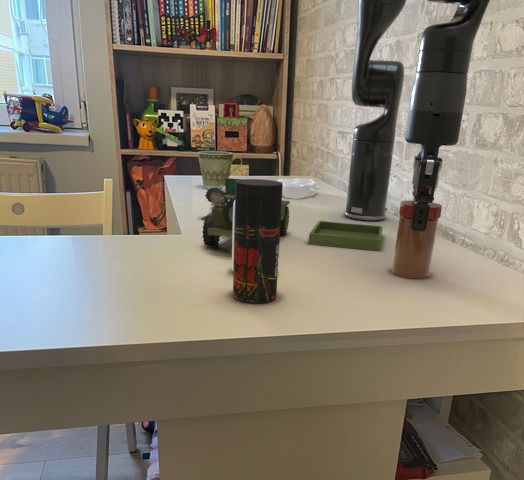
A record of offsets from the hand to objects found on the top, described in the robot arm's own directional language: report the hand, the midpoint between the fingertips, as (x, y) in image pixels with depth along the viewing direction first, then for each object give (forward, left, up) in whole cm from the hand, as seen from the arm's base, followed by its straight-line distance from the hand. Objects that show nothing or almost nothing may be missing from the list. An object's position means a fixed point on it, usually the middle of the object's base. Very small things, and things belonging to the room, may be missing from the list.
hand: (417, 225), depth 87 cm
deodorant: (+20, -21, -8) cm, 30 cm away
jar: (0, 0, -8) cm, 8 cm away
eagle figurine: (-29, -40, -8) cm, 50 cm away
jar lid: (0, 0, +3) cm, 3 cm away
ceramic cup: (-73, -54, -8) cm, 91 cm away
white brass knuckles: (-74, -32, -8) cm, 81 cm away
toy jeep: (-11, -30, -8) cm, 33 cm away
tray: (-20, -12, -8) cm, 25 cm away
